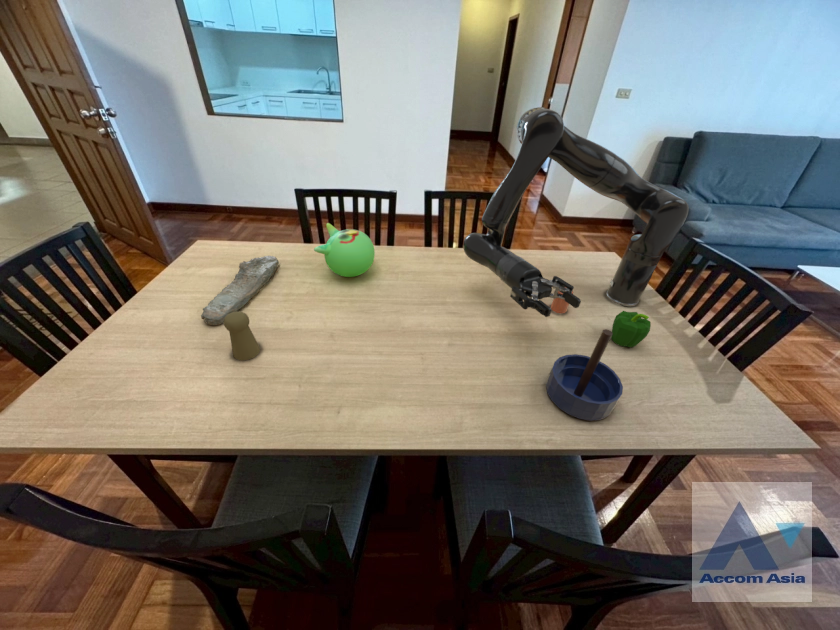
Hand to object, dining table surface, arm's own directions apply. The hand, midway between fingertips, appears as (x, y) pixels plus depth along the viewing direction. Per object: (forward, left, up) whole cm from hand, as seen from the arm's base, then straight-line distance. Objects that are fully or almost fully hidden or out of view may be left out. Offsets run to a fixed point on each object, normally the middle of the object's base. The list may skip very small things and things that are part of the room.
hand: (564, 308), depth 77 cm
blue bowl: (0, +11, -17) cm, 20 cm away
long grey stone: (+64, -60, -17) cm, 89 cm away
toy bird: (+32, -60, -17) cm, 70 cm away
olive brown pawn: (+66, -32, -17) cm, 75 cm away
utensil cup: (-19, -16, -17) cm, 30 cm away
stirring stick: (0, +11, -16) cm, 19 cm away
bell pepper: (-25, +2, -17) cm, 31 cm away
